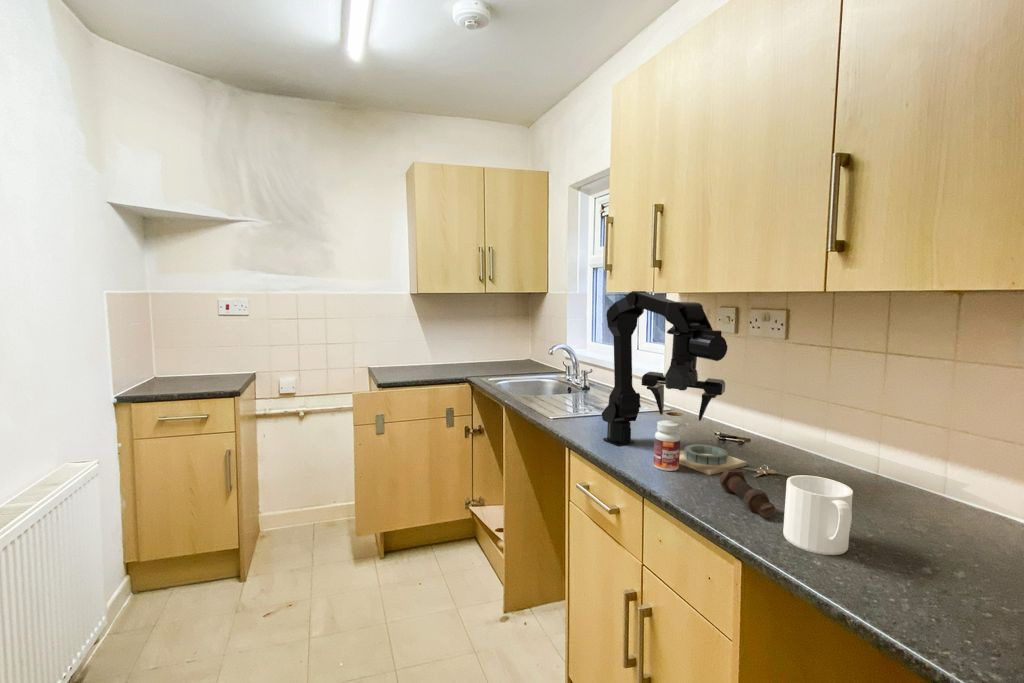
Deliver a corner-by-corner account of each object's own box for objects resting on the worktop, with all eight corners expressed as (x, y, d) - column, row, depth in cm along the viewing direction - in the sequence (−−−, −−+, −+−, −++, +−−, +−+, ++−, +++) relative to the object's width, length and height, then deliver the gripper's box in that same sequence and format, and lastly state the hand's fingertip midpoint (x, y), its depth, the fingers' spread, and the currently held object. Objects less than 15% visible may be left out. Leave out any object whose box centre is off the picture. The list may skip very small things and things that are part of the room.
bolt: (763, 529, 100) (726, 496, 115) (786, 517, 100) (746, 485, 115) (751, 505, 99) (715, 474, 114) (774, 492, 99) (735, 463, 114)
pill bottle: (662, 472, 125) (664, 427, 123) (648, 464, 131) (650, 420, 129) (684, 470, 126) (686, 425, 125) (669, 462, 132) (671, 419, 131)
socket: (665, 458, 135) (665, 447, 135) (701, 450, 142) (701, 439, 142) (709, 475, 123) (710, 463, 123) (746, 465, 130) (747, 454, 130)
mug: (772, 528, 96) (775, 475, 95) (824, 527, 97) (828, 475, 96) (813, 564, 84) (818, 503, 83) (873, 563, 84) (878, 503, 83)
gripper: (636, 354, 122) (633, 418, 124) (720, 363, 112) (714, 432, 114) (649, 349, 131) (646, 408, 133) (727, 356, 122) (723, 420, 124)
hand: (680, 417), depth 126 cm, fingers open, 9 cm apart
